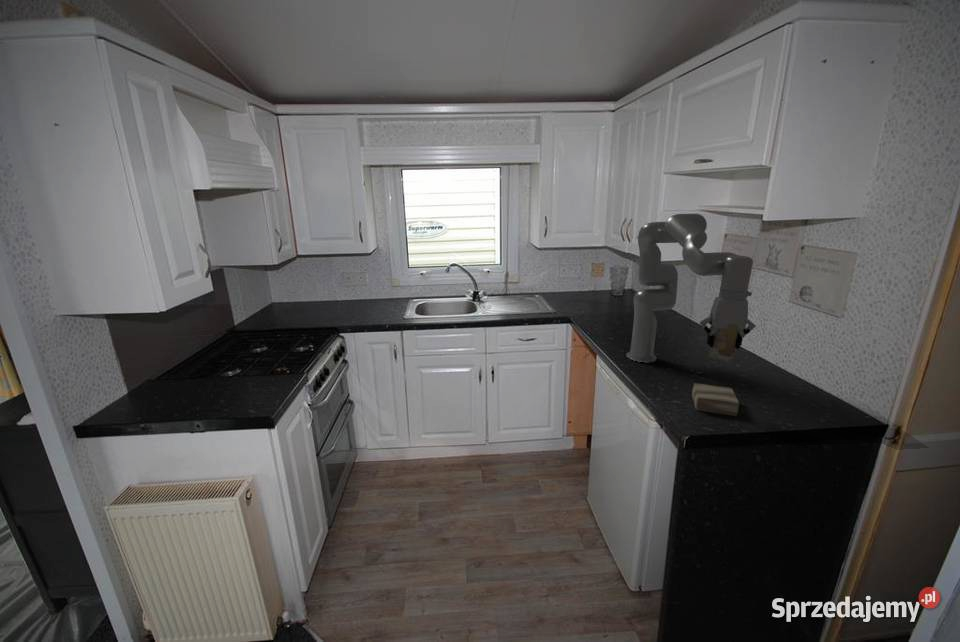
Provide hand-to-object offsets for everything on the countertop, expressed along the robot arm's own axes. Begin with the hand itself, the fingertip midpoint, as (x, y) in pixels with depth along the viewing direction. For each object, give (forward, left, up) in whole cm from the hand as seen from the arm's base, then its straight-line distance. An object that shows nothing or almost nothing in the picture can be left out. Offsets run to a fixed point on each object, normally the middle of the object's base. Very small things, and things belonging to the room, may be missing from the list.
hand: (723, 346), depth 134 cm
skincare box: (0, 0, -4) cm, 4 cm away
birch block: (0, 0, -22) cm, 22 cm away
